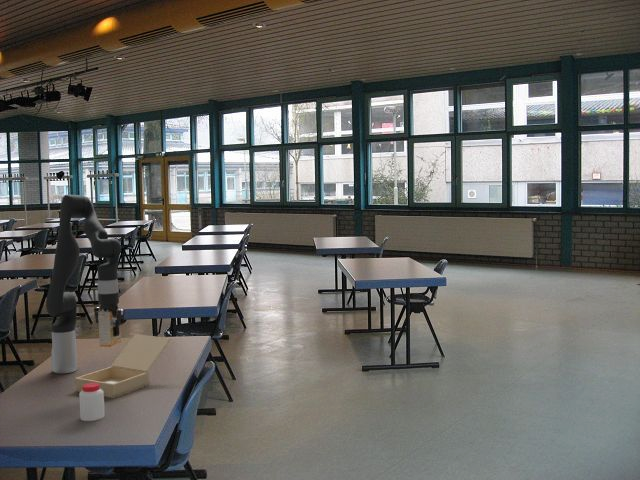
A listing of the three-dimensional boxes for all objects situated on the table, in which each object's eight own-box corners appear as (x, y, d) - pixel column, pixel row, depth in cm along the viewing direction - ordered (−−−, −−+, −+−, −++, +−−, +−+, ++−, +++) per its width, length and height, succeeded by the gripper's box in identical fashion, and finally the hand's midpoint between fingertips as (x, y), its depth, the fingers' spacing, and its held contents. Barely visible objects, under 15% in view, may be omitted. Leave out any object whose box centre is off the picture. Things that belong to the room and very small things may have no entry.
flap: (135, 334, 280) (136, 335, 280) (111, 365, 269) (111, 366, 269) (170, 338, 271) (171, 339, 271) (146, 370, 259) (147, 372, 260)
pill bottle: (83, 413, 228) (82, 382, 227) (107, 412, 228) (105, 381, 227) (77, 421, 220) (75, 388, 219) (101, 420, 221) (100, 387, 220)
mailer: (75, 391, 254) (75, 378, 254) (111, 378, 270) (111, 366, 269) (113, 398, 244) (113, 384, 244) (148, 385, 260) (148, 372, 259)
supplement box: (110, 347, 251) (109, 312, 250) (99, 346, 252) (97, 312, 251) (121, 342, 259) (120, 308, 258) (110, 341, 260) (108, 308, 259)
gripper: (129, 291, 254) (131, 335, 255) (102, 289, 261) (104, 331, 262) (114, 294, 247) (116, 339, 249) (87, 291, 254) (89, 335, 256)
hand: (110, 335), depth 255 cm, fingers closed on supplement box, 5 cm apart
